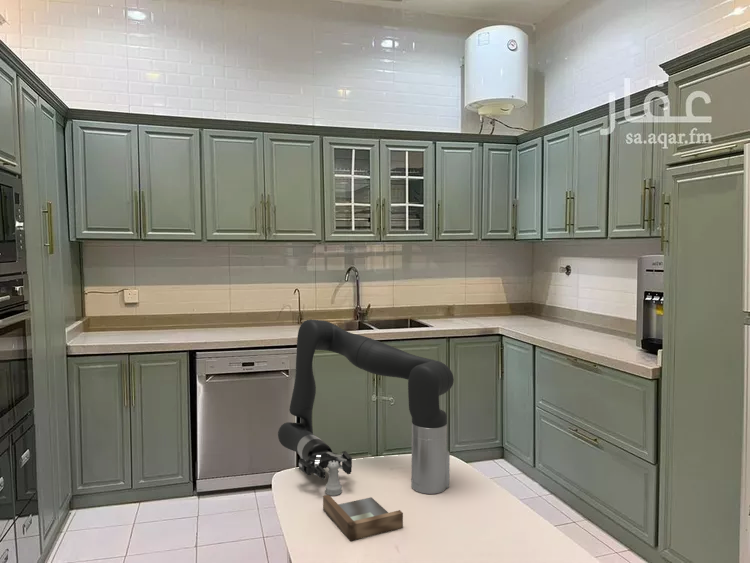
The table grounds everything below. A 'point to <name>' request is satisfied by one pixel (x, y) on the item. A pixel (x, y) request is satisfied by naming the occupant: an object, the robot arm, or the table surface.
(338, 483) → the rook chess piece
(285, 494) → the table surface
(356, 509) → the corner arena
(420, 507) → the table surface
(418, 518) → the table surface
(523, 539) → the table surface
